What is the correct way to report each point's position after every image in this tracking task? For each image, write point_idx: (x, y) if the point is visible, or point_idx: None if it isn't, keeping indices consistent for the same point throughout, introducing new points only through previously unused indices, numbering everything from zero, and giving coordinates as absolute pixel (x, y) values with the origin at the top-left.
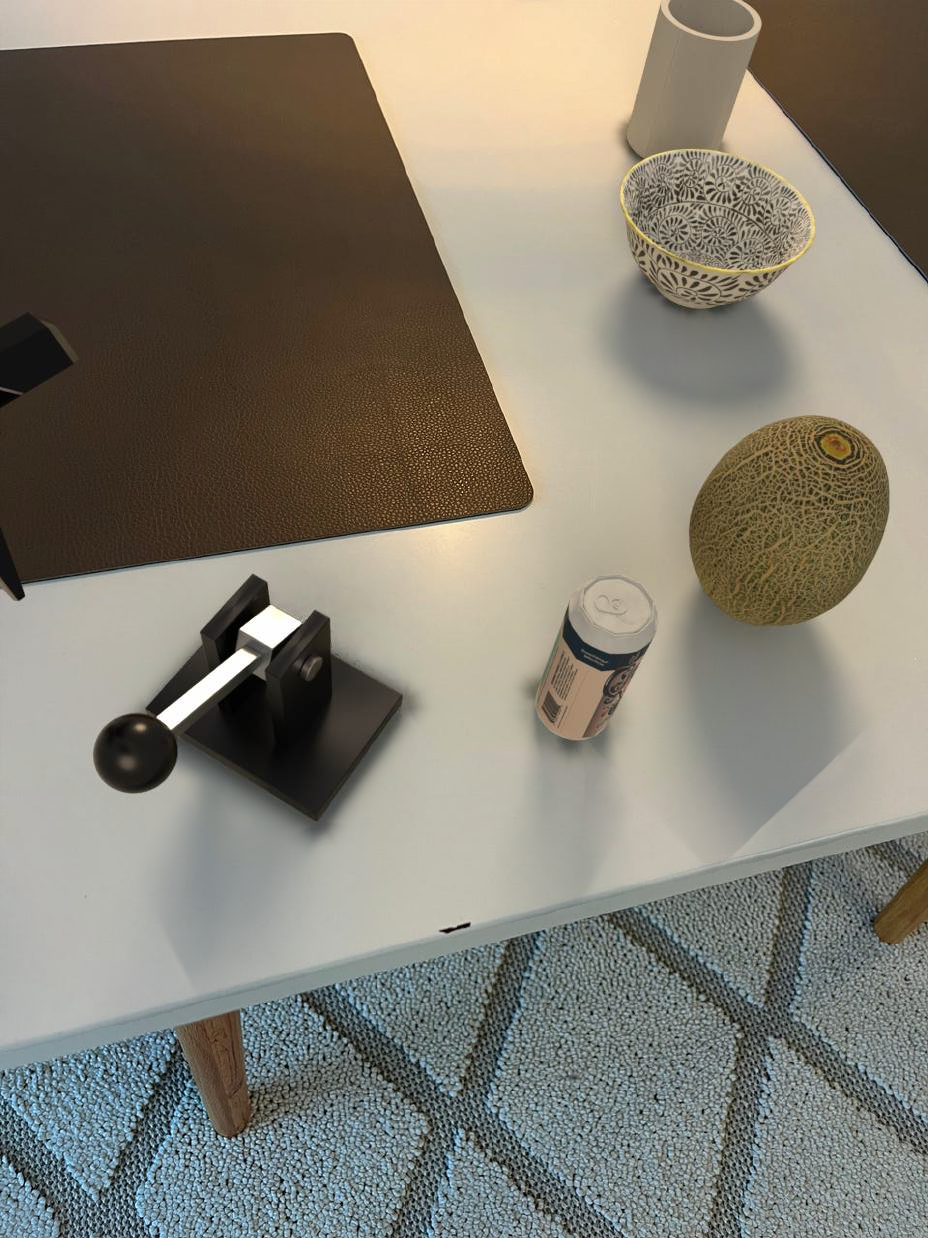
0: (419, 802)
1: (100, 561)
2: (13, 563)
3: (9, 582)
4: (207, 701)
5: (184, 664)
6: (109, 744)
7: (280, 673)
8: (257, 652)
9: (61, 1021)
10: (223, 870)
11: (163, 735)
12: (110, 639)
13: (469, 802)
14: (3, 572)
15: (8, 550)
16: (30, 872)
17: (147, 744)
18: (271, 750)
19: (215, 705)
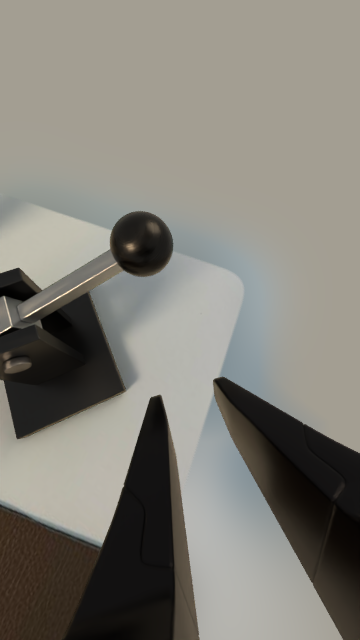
0: (35, 265)
1: (84, 556)
2: (141, 428)
3: (159, 409)
4: (75, 270)
5: (84, 408)
6: (155, 228)
7: (14, 270)
8: (18, 308)
9: (229, 272)
10: (139, 289)
11: (116, 224)
12: (116, 467)
13: (15, 251)
14: (159, 419)
15: (136, 443)
16: (220, 339)
17: (130, 214)
18: (77, 322)
19: (86, 367)
